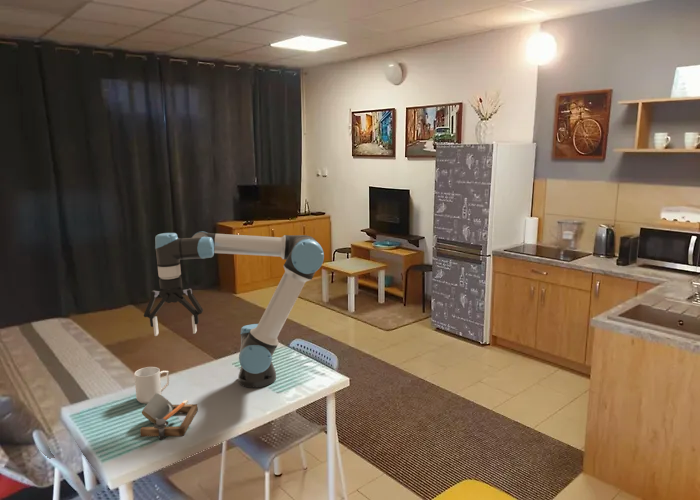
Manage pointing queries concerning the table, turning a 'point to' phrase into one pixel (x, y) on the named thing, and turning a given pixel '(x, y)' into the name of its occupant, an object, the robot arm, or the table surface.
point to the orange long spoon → (170, 414)
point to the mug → (148, 383)
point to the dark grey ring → (161, 430)
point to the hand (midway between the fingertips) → (175, 333)
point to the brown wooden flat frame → (176, 430)
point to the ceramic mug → (157, 408)
